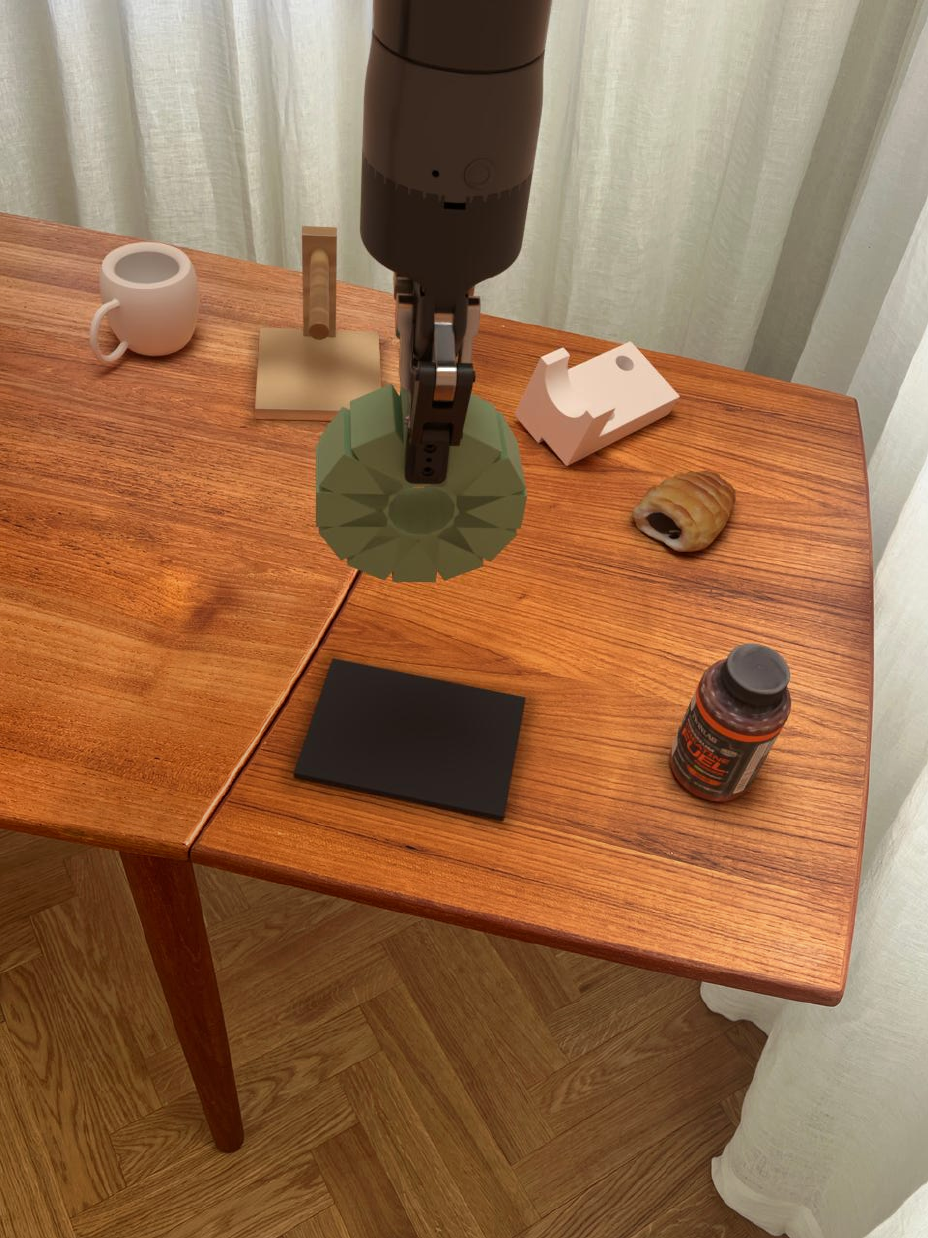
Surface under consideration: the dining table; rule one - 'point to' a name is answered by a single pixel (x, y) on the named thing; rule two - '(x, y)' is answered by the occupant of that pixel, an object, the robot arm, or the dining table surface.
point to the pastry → (686, 510)
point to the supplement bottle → (732, 723)
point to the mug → (147, 300)
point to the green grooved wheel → (416, 492)
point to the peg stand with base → (315, 347)
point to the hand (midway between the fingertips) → (422, 449)
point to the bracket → (592, 400)
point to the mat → (413, 739)
